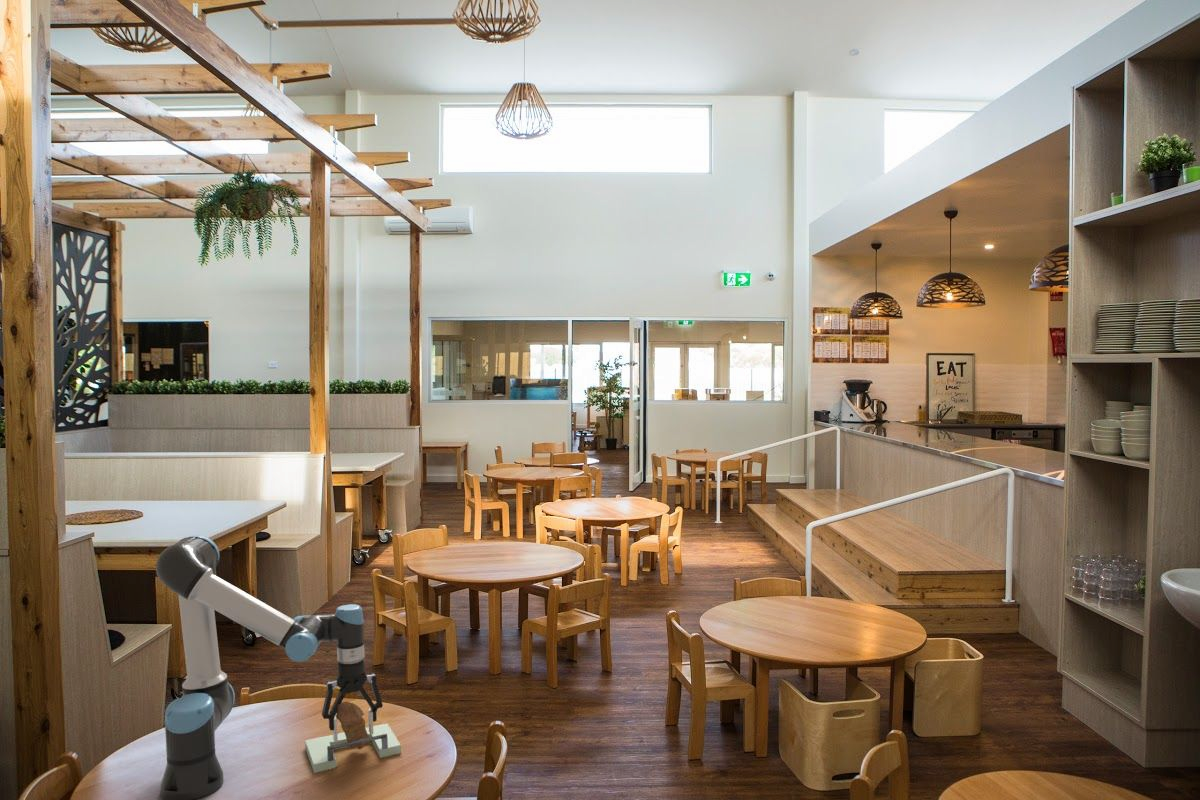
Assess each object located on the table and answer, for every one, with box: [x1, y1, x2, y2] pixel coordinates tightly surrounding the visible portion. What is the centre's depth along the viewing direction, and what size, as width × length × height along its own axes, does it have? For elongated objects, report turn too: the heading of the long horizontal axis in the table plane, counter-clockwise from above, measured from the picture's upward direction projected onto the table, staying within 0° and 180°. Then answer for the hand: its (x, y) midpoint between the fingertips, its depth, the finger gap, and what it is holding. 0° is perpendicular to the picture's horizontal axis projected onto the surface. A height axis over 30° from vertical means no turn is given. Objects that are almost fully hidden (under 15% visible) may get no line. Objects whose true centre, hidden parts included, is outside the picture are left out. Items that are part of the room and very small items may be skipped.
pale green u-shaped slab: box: [304, 722, 402, 774], centre depth 244 cm, size 24×17×2 cm
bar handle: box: [327, 734, 388, 761], centre depth 237 cm, size 16×1×4 cm, turn 117°
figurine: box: [335, 701, 370, 750], centre depth 242 cm, size 8×8×15 cm
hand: (353, 736), depth 242 cm, fingers open, 9 cm apart
